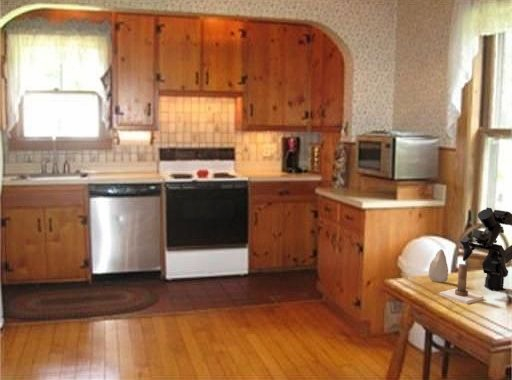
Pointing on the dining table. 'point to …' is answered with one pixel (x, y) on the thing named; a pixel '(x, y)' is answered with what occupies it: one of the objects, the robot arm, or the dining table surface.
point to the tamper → (462, 281)
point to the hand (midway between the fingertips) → (472, 263)
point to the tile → (463, 299)
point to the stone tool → (438, 268)
